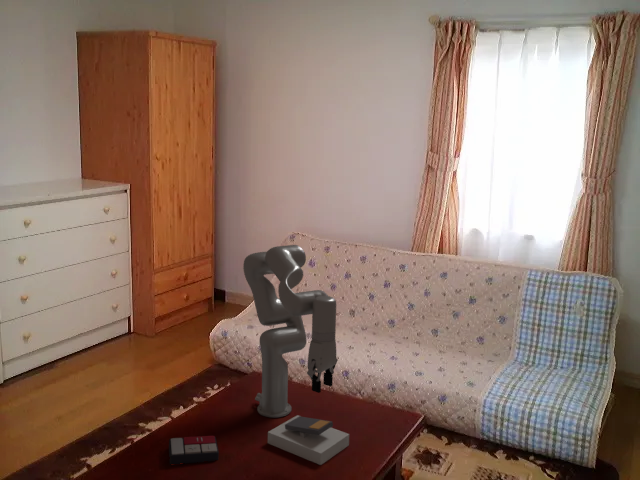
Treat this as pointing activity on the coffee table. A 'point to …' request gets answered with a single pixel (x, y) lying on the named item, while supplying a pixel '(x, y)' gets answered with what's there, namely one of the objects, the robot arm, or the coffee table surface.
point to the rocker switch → (309, 425)
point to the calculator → (193, 449)
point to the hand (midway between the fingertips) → (322, 387)
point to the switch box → (309, 442)
